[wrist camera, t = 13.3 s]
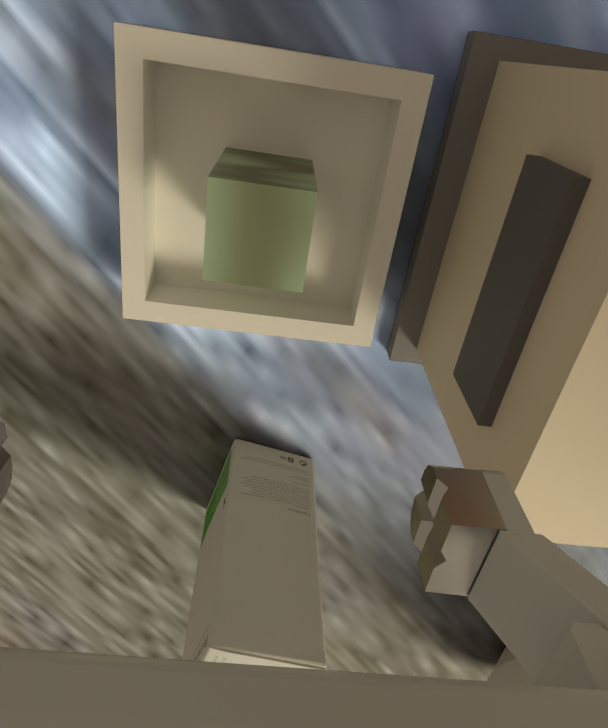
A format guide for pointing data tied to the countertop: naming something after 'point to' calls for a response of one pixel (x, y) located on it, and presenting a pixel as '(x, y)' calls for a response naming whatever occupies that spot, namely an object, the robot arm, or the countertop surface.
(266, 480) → the skincare box
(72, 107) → the countertop surface
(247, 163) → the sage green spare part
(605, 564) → the countertop surface
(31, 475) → the countertop surface
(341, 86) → the parts tray
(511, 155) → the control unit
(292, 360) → the countertop surface
